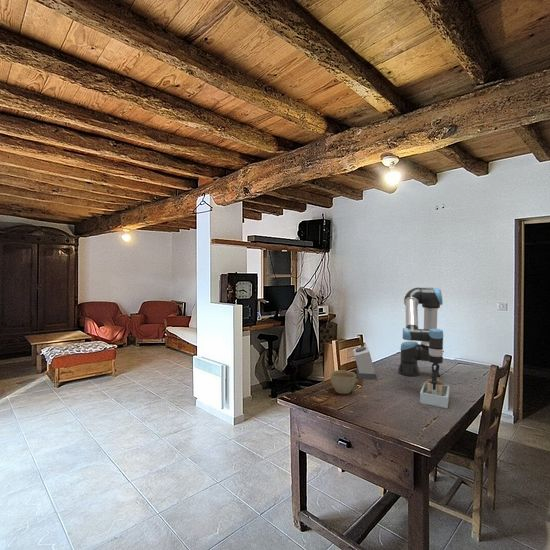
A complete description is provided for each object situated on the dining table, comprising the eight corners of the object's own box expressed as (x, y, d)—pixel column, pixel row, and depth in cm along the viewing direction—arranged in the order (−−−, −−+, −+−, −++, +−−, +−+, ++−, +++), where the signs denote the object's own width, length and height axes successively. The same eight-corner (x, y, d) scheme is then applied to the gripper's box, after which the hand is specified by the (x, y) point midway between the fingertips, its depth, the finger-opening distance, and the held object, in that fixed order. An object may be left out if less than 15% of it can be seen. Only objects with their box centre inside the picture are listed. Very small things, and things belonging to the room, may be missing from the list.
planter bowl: (337, 385, 219) (337, 368, 219) (360, 390, 209) (360, 373, 209) (324, 391, 207) (325, 374, 207) (348, 398, 197) (348, 379, 196)
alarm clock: (377, 379, 231) (377, 350, 231) (354, 378, 234) (354, 349, 234) (374, 371, 251) (374, 344, 251) (352, 369, 254) (353, 343, 254)
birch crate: (425, 398, 195) (426, 383, 195) (427, 393, 203) (427, 379, 202) (443, 401, 190) (443, 386, 190) (443, 396, 198) (444, 381, 198)
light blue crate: (419, 403, 190) (420, 392, 190) (424, 391, 209) (424, 381, 209) (447, 408, 183) (447, 397, 183) (449, 395, 202) (449, 385, 202)
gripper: (441, 361, 183) (440, 399, 184) (444, 351, 205) (443, 386, 205) (426, 359, 187) (426, 396, 187) (430, 350, 209) (430, 384, 209)
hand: (435, 391), depth 196 cm, fingers open, 13 cm apart
